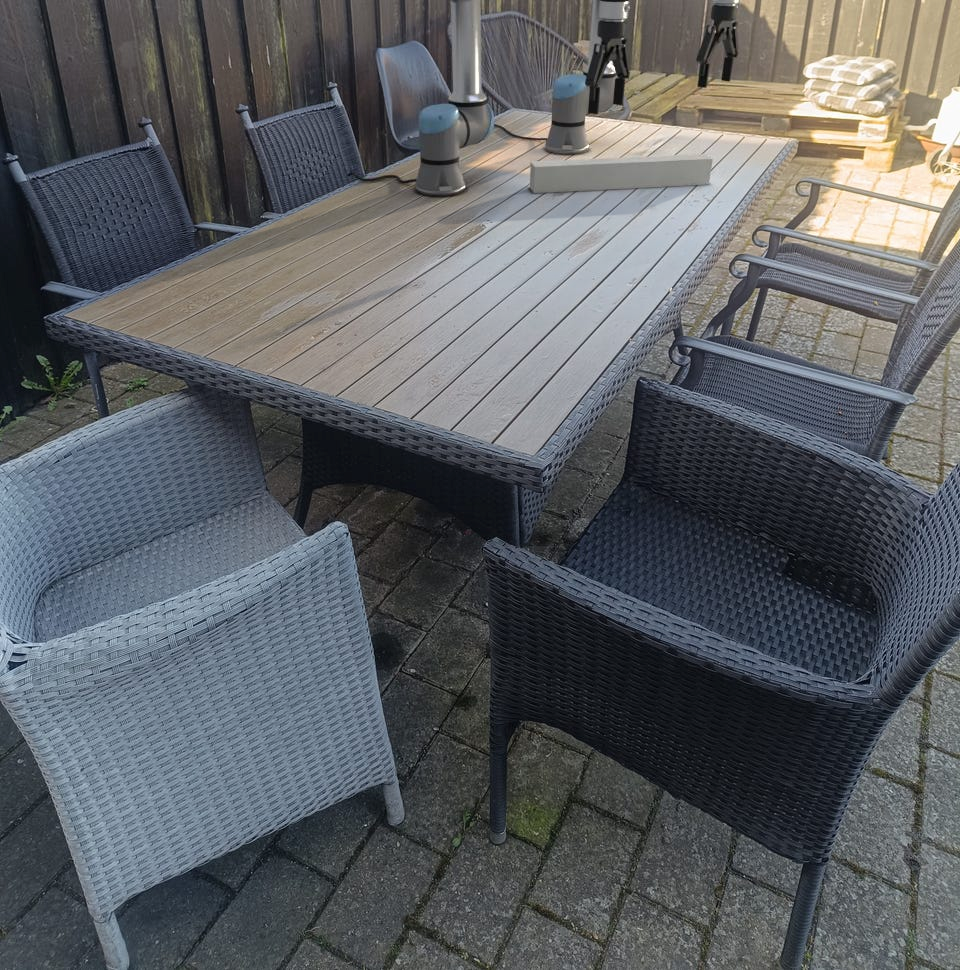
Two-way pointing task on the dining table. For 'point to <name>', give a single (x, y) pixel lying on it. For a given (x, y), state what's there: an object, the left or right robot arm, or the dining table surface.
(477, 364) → the dining table surface
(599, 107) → the right robot arm
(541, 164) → the beam
